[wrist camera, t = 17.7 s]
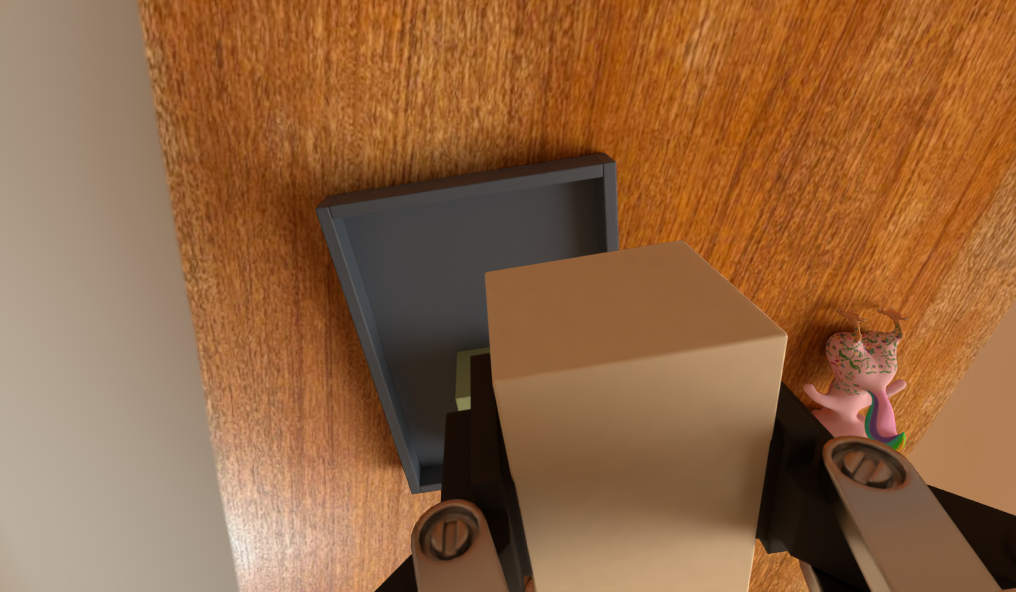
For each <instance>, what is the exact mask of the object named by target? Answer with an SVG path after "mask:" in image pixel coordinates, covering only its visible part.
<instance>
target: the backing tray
mask: <svg viewBox="0 0 1016 592" xmlns="http://www.w3.org/2000/svg"><path fill="white" fill-rule="evenodd" d="M315 210H316V213H317V216H318V219H319V222H320V225H321V228H322V231H323V234H324V237H325V240H326V243H327V246H328V249H329V252H330V255H331V258H332V260H333V263H334V266H335V269H336V272H337V275H338V278H339V281H340V284H341V287H342V290H343V293H344V296H345V299H346V302H347V305H348V308H349V310H350V313H351V316H352V319H353V322H354V325H355V328H356V331H357V334H358V337H359V340H360V343H361V346H362V349H363V352H364V355H365V358H366V360H367V363H368V366H369V369H370V372H371V375H372V378H373V381H374V384H375V387H376V390H377V393H378V396H379V399H380V402H381V405H382V408H383V410H384V413H385V416H386V419H387V422H388V425H389V428H390V431H391V434H392V437H393V440H394V443H395V446H396V449H397V452H398V455H399V458H400V460H401V463H402V466H403V469H404V472H405V475H406V478H407V481H408V484H409V487H410V490H411V493H412V494H419V493H421V492H422V493H425V492H432V491H438V490H441V488H442V471H443V455H444V438H445V422H446V414H447V413H449V412H455V411H458V408H457V404H456V400H455V394H456V369H457V352H460V351H467V350H473V349H480V348H486V347H490V341H489V327H488V313H487V299H486V286H485V273H486V272H490V271H496V270H502V269H509V268H515V267H521V266H527V265H533V264H539V263H545V262H551V261H557V260H563V259H570V258H576V257H582V256H588V255H594V254H600V253H606V252H612V251H618V250H619V238H618V206H617V174H616V161H614V160H613V159H612V158H610V157H609V156H608V155H607V154H606V153H599V154H593V155H586V156H580V157H574V158H567V159H561V160H555V161H548V162H542V163H535V164H529V165H523V166H516V167H510V168H503V169H497V170H491V171H484V172H478V173H472V174H465V175H459V176H452V177H446V178H440V179H433V180H427V181H420V182H414V183H408V184H401V185H395V186H389V187H382V188H376V189H369V190H363V191H357V192H350V193H344V194H338V195H331V196H327V197H326V198H325V199H324V200H323V201H322V202H321V203H320V204H319V205H318V206H317V207H316V208H315Z"/></svg>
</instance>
